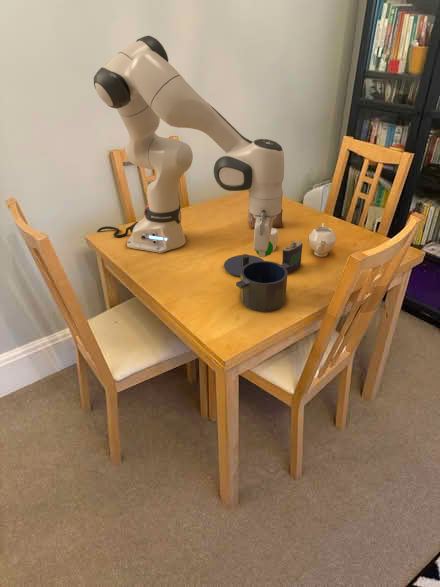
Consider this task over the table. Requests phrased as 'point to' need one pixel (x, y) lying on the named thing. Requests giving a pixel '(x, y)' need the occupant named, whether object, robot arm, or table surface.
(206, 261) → the table surface
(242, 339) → the table surface
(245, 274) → the pot
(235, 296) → the table surface
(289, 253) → the flask
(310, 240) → the teapot
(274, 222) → the food item
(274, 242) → the tan cup
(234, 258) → the pot lid
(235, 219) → the table surface
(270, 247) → the polyhedron
